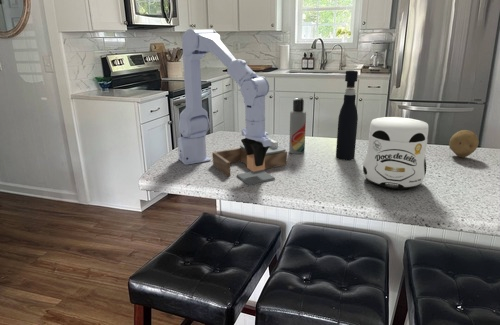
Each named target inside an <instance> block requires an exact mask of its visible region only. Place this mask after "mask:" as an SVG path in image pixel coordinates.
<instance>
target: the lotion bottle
mask: <svg viewBox="0 0 500 325" xmlns="http://www.w3.org/2000/svg"><path fill="white" fill-rule="evenodd" d="M304 105H305V100H304V98H303V97H301V98H294V99H293V100H292V111H290V112H289V114H290V115H289V146H288V148H289V149H288V150H289V153H291V154H296V155H299V154H303V153H304V152H305V150H306V149H305V147H306V123H307V112H306V111H305V110H304V108H305V106H304Z"/></svg>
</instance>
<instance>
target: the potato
mask: <svg viewBox="0 0 500 325" xmlns="http://www.w3.org/2000/svg"><path fill="white" fill-rule="evenodd" d="M448 142H449V146H448V148H449V149H450V150H451V151H452V152H453V153H454V154H455V155H456V156H457V157H458V158H461V159H463V158H467V157H469V156H470V155H472V154H473V153H474V152H476V150H477V148H478V146H479V143H480V141H479V137H478V135H477V134H476V133H474V132H473V131H471V130H467V129H462V130H459V131H457V132H454V134H453V135H452V136H451V137H450V139H449V141H448Z"/></svg>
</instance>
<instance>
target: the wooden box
mask: <svg viewBox="0 0 500 325" xmlns="http://www.w3.org/2000/svg"><path fill="white" fill-rule="evenodd" d="M211 153H212V165H213V167H215V168H216V169H218V170H219V171H220V172H221V173H222V174H224V175H225V176H226V177H230V176H231V163H237V162H241V163H243V164H245V165H246V166H247V153H246V150H245V149H243V148H241V147H236V148H230V149H224V150H218V151H212V152H211ZM287 161H288V152H287V151H285V152H279V153H273V154H268V155H265V169H264V170H266V169H271V168H275V167H281V166H287V164H288V162H287Z"/></svg>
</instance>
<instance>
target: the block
mask: <svg viewBox="0 0 500 325" xmlns="http://www.w3.org/2000/svg"><path fill="white" fill-rule="evenodd" d="M246 168H247V169H248V170H250V172H252V171H253V172H254V171H259V170H263V171H265V170H266V169H265V158H264V162H263V165H262V166H256V165H255V159H254V154H252V155H247V165H246Z"/></svg>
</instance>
